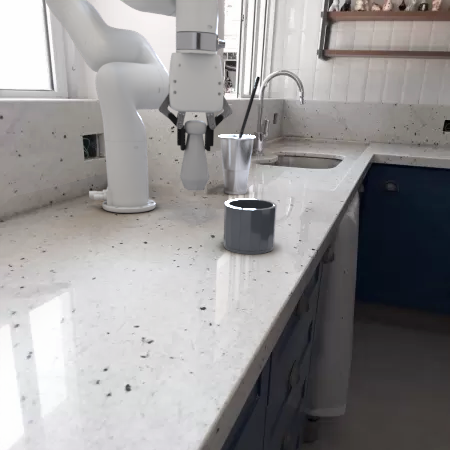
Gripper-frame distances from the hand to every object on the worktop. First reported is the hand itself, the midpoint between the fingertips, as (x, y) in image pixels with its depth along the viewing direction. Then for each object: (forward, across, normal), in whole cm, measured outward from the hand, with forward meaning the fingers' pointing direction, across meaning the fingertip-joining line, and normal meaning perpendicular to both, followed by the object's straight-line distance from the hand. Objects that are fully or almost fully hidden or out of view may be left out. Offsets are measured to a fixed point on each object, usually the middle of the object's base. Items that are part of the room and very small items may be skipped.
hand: (195, 148), depth 95 cm
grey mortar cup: (+16, -8, +15) cm, 23 cm away
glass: (+17, -16, -36) cm, 43 cm away
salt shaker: (+8, 0, 0) cm, 8 cm away
